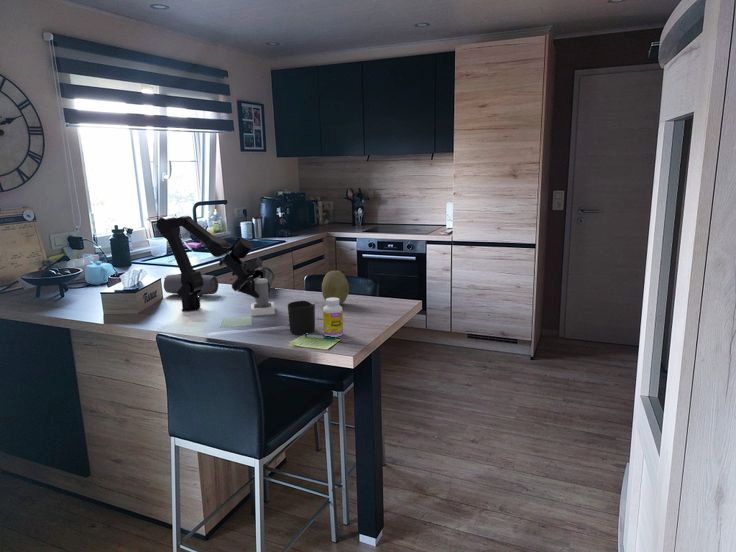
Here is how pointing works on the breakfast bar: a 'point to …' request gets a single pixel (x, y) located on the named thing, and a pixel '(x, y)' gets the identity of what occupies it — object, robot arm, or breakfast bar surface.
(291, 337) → the breakfast bar surface
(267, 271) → the muzzle brake
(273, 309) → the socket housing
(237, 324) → the pad
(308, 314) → the pen holder
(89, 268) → the teapot
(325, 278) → the fruit
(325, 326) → the supplement bottle
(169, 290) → the bluetooth speaker
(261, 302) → the grey rectangular block
